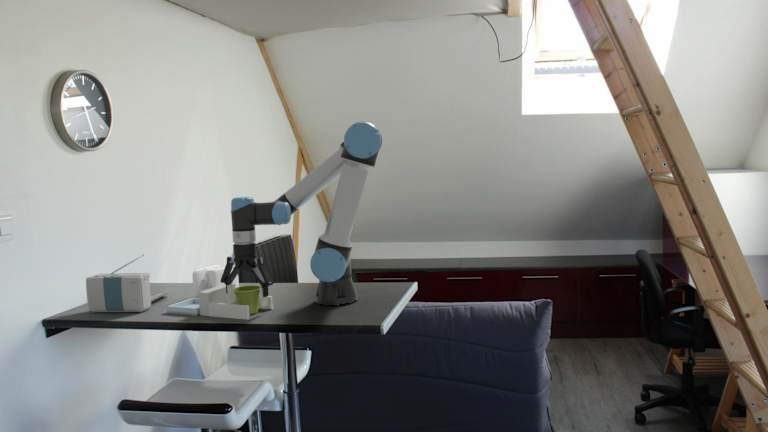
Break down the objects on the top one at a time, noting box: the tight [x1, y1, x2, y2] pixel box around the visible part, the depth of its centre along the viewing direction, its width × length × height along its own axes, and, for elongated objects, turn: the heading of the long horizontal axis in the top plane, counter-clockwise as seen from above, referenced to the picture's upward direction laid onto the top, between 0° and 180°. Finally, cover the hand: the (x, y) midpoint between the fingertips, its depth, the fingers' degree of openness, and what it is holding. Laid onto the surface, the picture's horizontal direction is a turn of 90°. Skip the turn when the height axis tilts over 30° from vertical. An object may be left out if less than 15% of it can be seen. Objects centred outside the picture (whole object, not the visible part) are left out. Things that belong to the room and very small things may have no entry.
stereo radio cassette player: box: [85, 254, 152, 314], centre depth 210 cm, size 21×8×20 cm, turn 82°
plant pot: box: [233, 284, 262, 316], centre depth 200 cm, size 9×9×9 cm
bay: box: [198, 284, 274, 321], centre depth 202 cm, size 20×14×8 cm
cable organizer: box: [191, 264, 240, 298], centre depth 227 cm, size 15×11×12 cm
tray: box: [166, 297, 201, 317], centre depth 208 cm, size 13×13×2 cm
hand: (247, 304), depth 200 cm, fingers open, 13 cm apart
